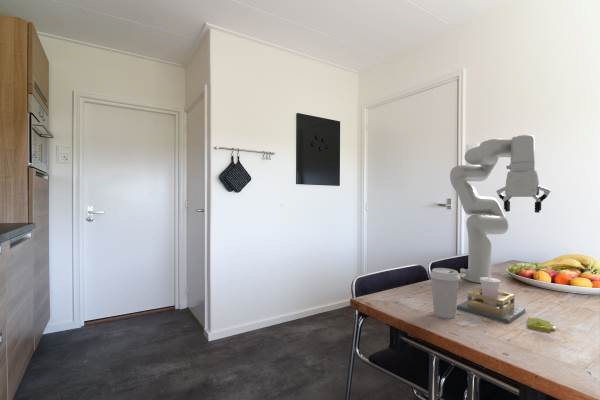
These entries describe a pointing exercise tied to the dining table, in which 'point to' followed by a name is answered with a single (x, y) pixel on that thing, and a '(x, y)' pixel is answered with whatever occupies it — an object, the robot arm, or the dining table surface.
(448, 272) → the coffee cup
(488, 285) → the smoothie
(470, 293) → the collar stand
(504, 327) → the dining table surface
